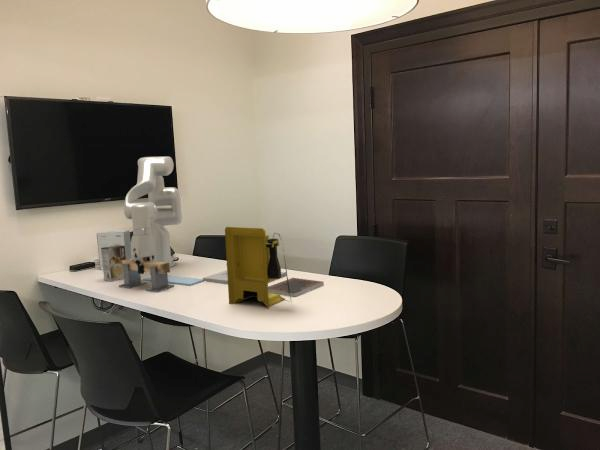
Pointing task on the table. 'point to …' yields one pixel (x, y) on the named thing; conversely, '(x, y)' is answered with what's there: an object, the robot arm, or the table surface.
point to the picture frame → (294, 287)
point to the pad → (180, 280)
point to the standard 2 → (158, 281)
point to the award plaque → (225, 277)
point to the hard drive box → (114, 242)
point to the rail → (147, 266)
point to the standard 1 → (131, 278)
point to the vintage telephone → (252, 265)
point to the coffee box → (113, 262)
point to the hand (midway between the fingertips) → (145, 272)
